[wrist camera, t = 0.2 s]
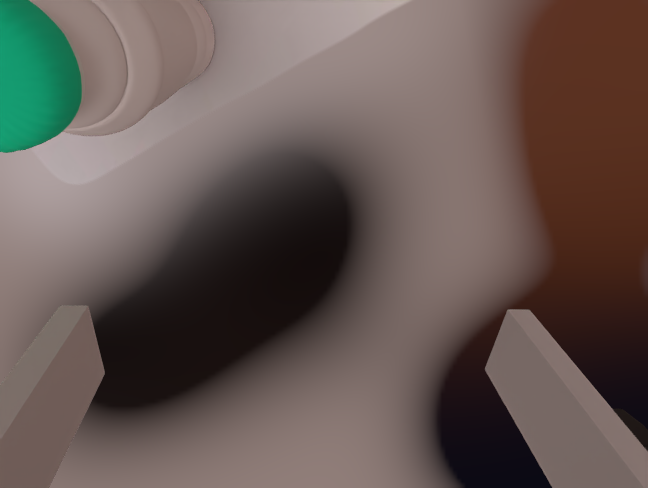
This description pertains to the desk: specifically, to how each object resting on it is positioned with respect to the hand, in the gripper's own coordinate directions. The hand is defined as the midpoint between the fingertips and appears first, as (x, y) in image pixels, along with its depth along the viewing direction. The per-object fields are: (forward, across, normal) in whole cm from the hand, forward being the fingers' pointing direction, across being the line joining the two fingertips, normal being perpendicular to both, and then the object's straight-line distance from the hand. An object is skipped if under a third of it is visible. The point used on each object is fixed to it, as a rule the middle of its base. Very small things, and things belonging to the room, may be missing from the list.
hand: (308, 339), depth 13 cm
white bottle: (+28, -10, +7) cm, 30 cm away
